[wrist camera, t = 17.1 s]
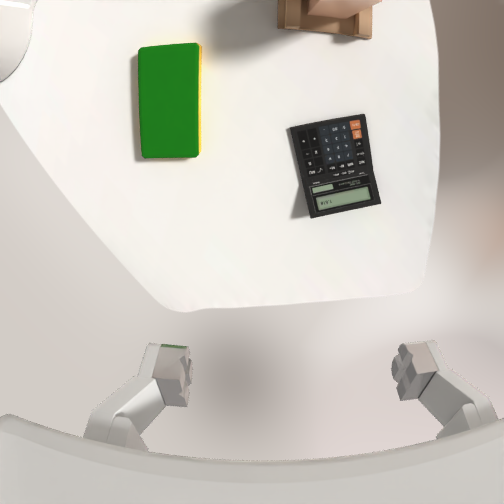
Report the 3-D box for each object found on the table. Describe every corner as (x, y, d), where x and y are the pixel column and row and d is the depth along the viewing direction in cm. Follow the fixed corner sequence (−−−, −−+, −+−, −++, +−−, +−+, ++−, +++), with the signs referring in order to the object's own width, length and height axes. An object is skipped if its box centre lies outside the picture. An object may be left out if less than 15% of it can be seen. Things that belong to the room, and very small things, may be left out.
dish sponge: (147, 153, 39) (141, 158, 37) (144, 48, 31) (137, 47, 29) (201, 152, 39) (198, 157, 37) (202, 44, 31) (198, 42, 29)
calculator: (362, 113, 35) (370, 117, 33) (374, 197, 41) (381, 206, 39) (289, 127, 37) (292, 131, 34) (308, 211, 43) (311, 221, 40)
